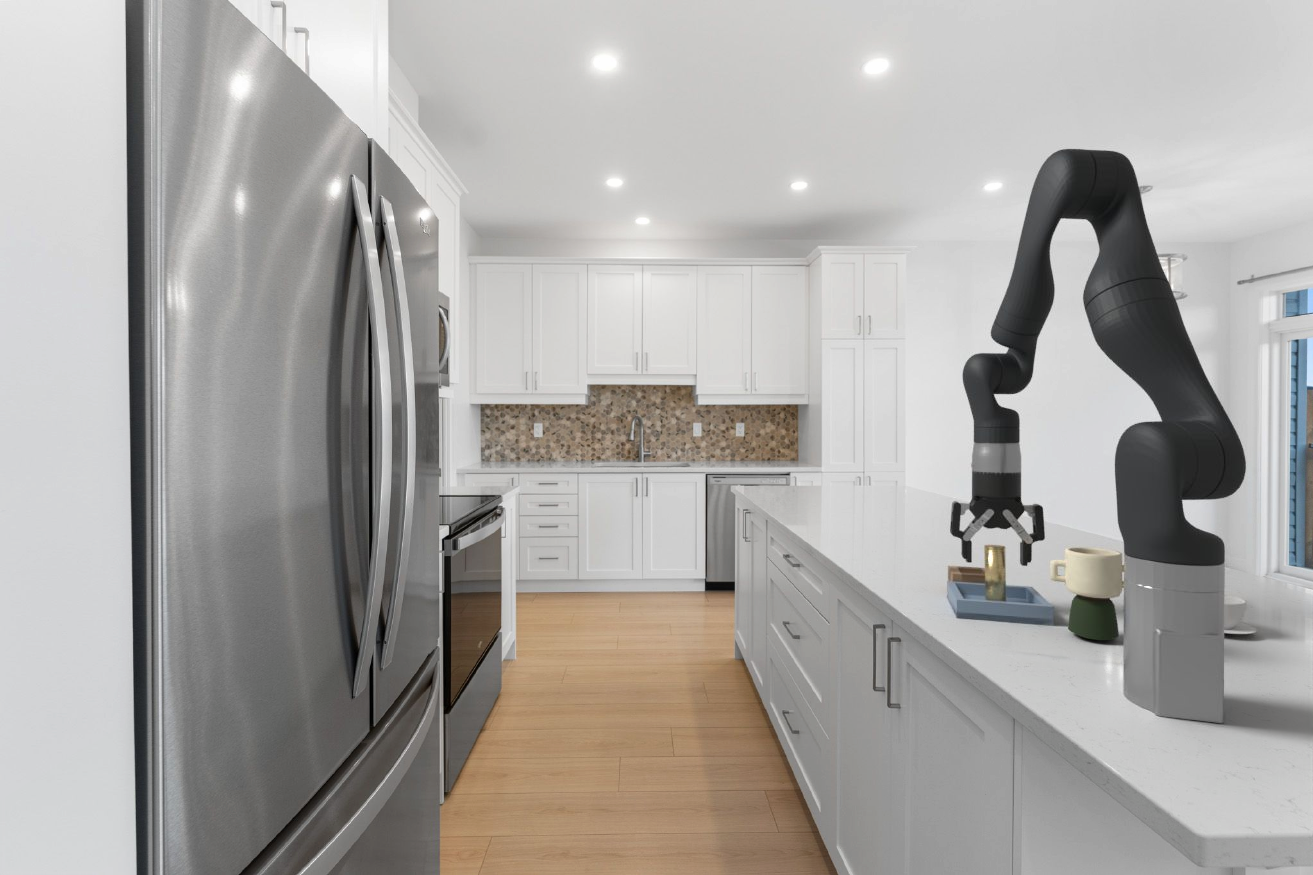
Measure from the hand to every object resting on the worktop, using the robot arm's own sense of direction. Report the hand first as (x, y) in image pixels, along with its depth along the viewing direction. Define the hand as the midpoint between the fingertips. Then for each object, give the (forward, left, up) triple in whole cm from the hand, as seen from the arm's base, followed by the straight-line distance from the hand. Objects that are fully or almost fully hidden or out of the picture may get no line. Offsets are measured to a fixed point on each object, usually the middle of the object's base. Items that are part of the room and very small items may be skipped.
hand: (995, 563), depth 111 cm
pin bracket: (+13, +2, -8) cm, 15 cm away
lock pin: (0, 0, -7) cm, 7 cm away
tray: (0, 0, -8) cm, 8 cm away
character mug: (-12, -11, -8) cm, 18 cm away
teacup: (+1, -31, -8) cm, 32 cm away
